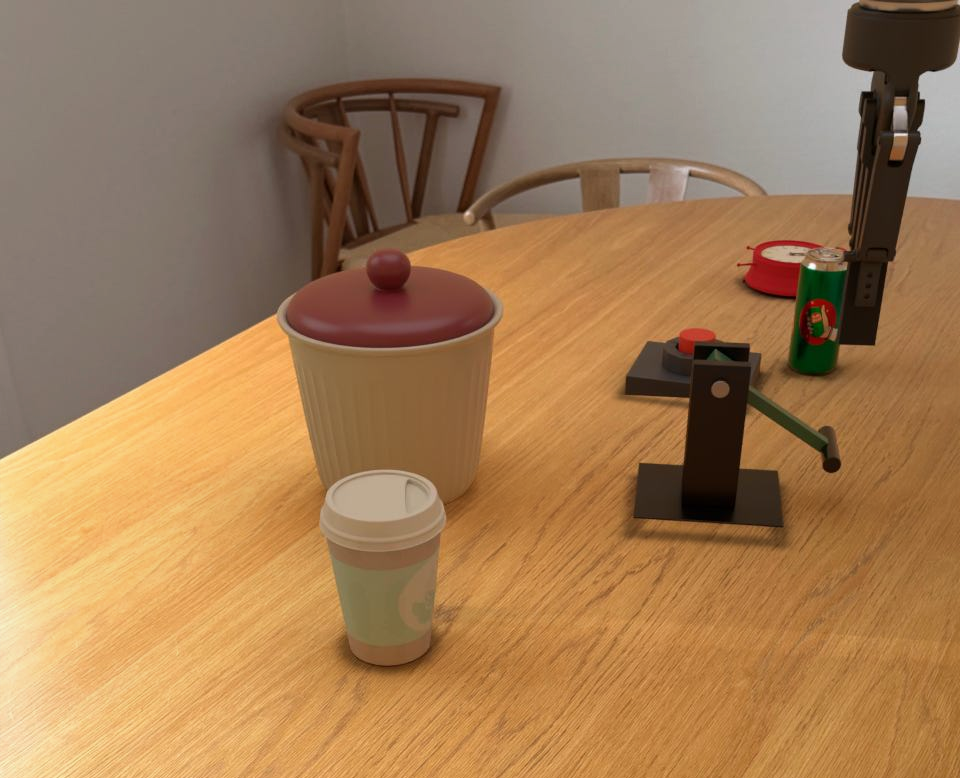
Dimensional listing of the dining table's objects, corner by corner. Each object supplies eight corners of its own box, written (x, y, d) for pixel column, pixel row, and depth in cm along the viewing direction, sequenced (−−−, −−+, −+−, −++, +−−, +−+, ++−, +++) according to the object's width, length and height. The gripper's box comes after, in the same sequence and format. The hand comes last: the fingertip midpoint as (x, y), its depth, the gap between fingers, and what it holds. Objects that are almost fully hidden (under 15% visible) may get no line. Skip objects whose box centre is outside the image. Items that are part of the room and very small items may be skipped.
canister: (413, 565, 99) (401, 305, 87) (251, 502, 108) (221, 258, 96) (543, 481, 111) (549, 241, 99) (388, 430, 120) (376, 205, 108)
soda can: (809, 355, 135) (825, 243, 128) (846, 369, 131) (865, 255, 125) (776, 366, 132) (791, 252, 126) (813, 381, 129) (831, 265, 122)
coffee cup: (409, 690, 86) (401, 537, 79) (307, 656, 89) (291, 506, 82) (471, 629, 92) (468, 482, 85) (373, 599, 95) (363, 455, 88)
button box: (759, 373, 131) (763, 336, 129) (744, 411, 123) (749, 372, 121) (646, 360, 134) (648, 324, 132) (624, 396, 126) (626, 358, 124)
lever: (823, 448, 105) (842, 427, 104) (828, 481, 100) (849, 459, 99) (696, 362, 103) (715, 339, 101) (696, 391, 98) (715, 367, 96)
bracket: (775, 485, 110) (796, 333, 102) (781, 542, 102) (804, 381, 94) (638, 477, 111) (648, 327, 104) (632, 532, 103) (642, 374, 96)
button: (717, 346, 127) (718, 329, 126) (710, 359, 125) (712, 342, 124) (681, 342, 128) (683, 326, 127) (675, 355, 126) (676, 338, 125)
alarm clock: (745, 237, 157) (870, 220, 152) (751, 286, 160) (873, 271, 155) (732, 262, 149) (863, 245, 143) (738, 314, 152) (867, 298, 146)
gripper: (840, -12, 89) (801, 310, 103) (858, 17, 79) (811, 372, 92) (950, -13, 88) (895, 313, 102) (983, 16, 78) (917, 376, 91)
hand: (855, 341), depth 97 cm, fingers closed
